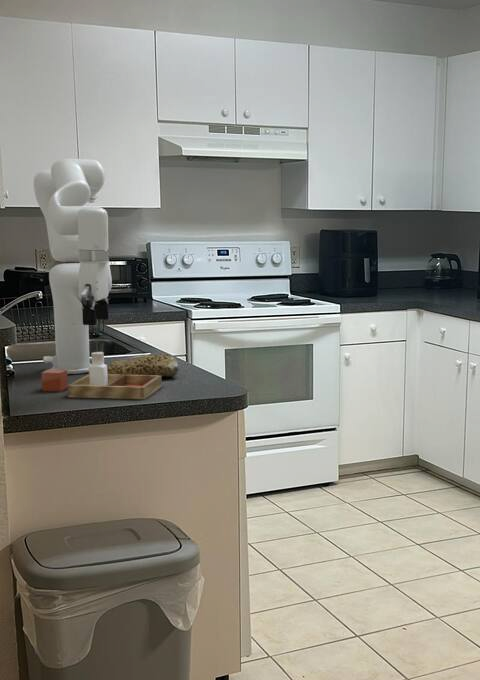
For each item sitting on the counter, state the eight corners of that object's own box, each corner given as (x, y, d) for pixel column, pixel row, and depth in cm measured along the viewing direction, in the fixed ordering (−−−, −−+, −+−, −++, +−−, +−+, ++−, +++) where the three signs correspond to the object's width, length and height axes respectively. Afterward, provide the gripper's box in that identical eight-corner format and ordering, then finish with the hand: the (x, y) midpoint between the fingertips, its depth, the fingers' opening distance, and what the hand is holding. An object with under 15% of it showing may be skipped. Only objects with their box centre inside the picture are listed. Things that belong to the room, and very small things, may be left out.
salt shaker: (89, 389, 236) (87, 354, 234) (93, 386, 240) (92, 351, 238) (104, 389, 236) (103, 354, 234) (108, 386, 240) (107, 351, 238)
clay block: (42, 391, 238) (41, 372, 237) (49, 387, 243) (49, 369, 242) (60, 391, 237) (59, 372, 236) (67, 387, 242) (67, 369, 241)
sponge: (169, 376, 264) (101, 367, 256) (175, 351, 262) (106, 341, 254) (178, 393, 253) (107, 384, 245) (184, 367, 251) (113, 357, 243)
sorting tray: (67, 397, 230) (67, 385, 230) (90, 384, 246) (89, 373, 246) (144, 399, 229) (144, 387, 228) (161, 386, 245) (161, 375, 244)
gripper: (91, 253, 241) (93, 316, 244) (67, 258, 224) (69, 326, 227) (118, 254, 240) (120, 317, 243) (96, 259, 223) (98, 327, 226)
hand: (96, 322), depth 235 cm, fingers open, 9 cm apart
